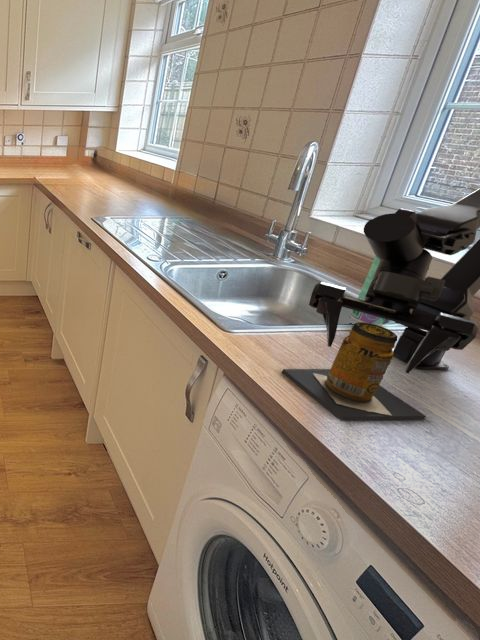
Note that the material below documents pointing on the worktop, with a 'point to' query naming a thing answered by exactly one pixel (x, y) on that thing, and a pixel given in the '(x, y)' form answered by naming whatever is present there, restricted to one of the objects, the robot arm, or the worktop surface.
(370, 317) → the spray can
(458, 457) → the worktop surface
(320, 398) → the mat
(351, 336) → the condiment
